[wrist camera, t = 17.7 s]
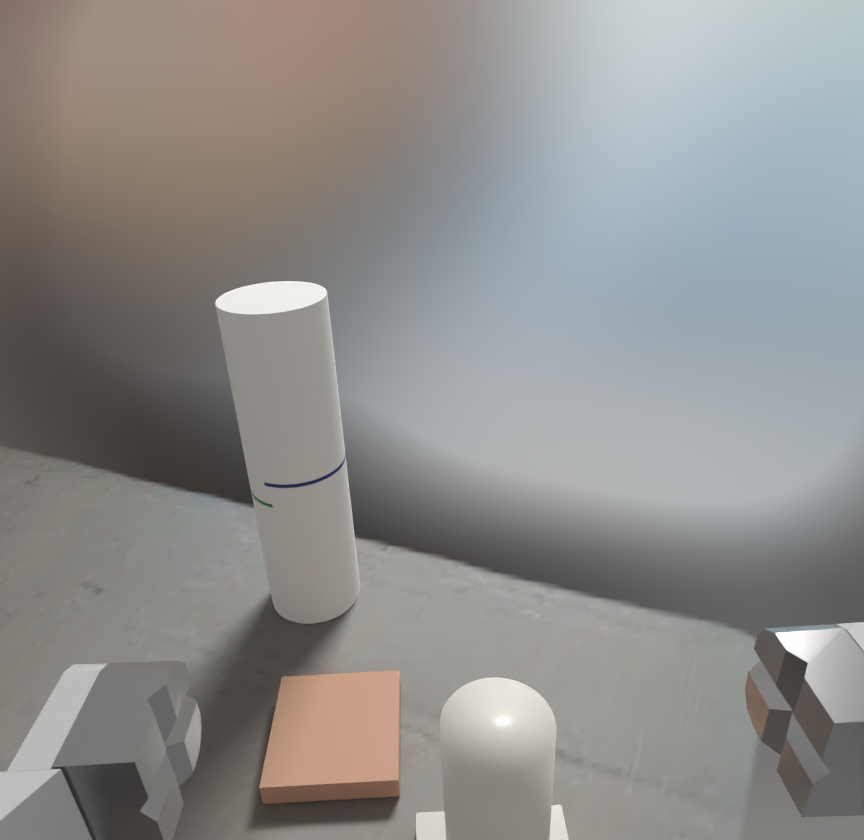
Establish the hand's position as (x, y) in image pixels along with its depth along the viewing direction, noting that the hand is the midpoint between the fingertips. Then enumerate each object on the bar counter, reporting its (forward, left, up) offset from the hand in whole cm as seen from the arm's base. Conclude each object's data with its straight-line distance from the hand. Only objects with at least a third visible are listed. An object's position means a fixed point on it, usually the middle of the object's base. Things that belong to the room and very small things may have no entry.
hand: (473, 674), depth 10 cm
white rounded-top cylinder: (+2, +12, -28) cm, 31 cm away
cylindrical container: (-10, +36, -30) cm, 48 cm away
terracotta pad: (-7, +22, -30) cm, 38 cm away
